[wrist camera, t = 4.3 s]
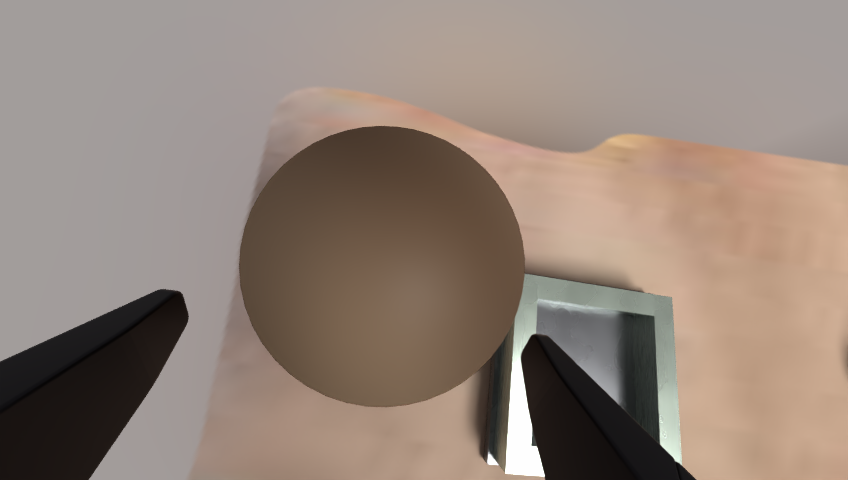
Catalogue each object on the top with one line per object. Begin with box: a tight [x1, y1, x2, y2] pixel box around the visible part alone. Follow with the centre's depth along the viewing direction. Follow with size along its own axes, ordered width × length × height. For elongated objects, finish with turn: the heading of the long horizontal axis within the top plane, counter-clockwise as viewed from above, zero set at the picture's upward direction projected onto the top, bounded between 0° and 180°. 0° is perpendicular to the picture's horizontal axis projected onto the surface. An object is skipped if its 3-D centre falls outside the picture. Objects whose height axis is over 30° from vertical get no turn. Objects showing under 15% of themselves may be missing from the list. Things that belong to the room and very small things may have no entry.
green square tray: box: [484, 273, 682, 476], centre depth 17 cm, size 10×10×2 cm
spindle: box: [239, 126, 525, 407], centre depth 11 cm, size 5×5×12 cm
